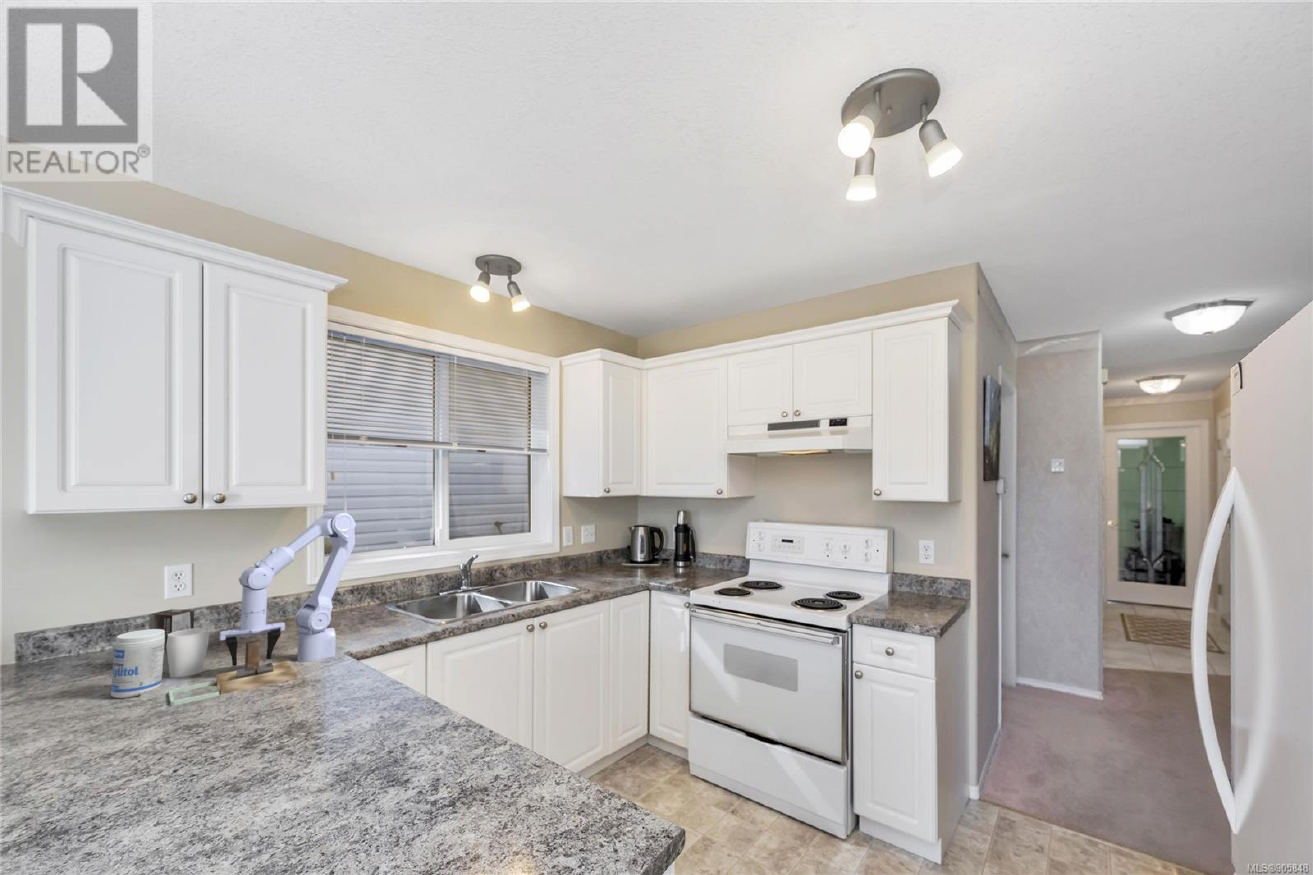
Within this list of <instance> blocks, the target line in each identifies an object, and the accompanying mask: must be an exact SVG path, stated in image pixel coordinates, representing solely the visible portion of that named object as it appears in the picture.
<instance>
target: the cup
mask: <svg viewBox="0 0 1313 875" xmlns="http://www.w3.org/2000/svg"><path fill="white" fill-rule="evenodd" d="M209 637H210V636H209V628H207V627H194V628H193V629H185V630H180V631H175V632H172V633H170V634H168V638H167V645H166V649H167V657H168V665H169V672H170V673H169V678H170V679H171V678H184V677H189V676H193V675H196V674H200V673H203V668H204V664H205V660H206V659H205V658H206V655H207V651H208V646H209V642H210V641H209V639H210V638H209Z"/></svg>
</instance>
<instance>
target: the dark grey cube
mask: <svg viewBox="0 0 1313 875" xmlns="http://www.w3.org/2000/svg"><path fill="white" fill-rule="evenodd" d="M236 671H237V672H236V679H239V678H244V677H249V676H254V675H255V669H254V667H248V668H245V667H243V668H239V669H236Z"/></svg>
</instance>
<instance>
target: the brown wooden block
mask: <svg viewBox="0 0 1313 875" xmlns="http://www.w3.org/2000/svg"><path fill="white" fill-rule="evenodd" d="M260 648H261V643H260V642H259V641H258V640H251V641H246V642H245V653H244V655H245V656H244V657H245V658H244V668H248V667H255V666H258V665H260Z"/></svg>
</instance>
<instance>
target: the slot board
mask: <svg viewBox="0 0 1313 875" xmlns="http://www.w3.org/2000/svg"><path fill="white" fill-rule="evenodd" d="M291 664H292V662H291V661H290V660H285V661H279V662H276V663H275V662H274V663H272V665H273V666H274V667H273V672H269V673H264V674H259V675H254V676H249V677H244V678H239V679H236V672H237V670H233V671H228V672H223V673H219V674H216V681H215V682H216V687H217V689H218V691H219V695H226V694H231V693H234V692H239V691H244V690H245V691H246V690H249V689H253V688H258V687H263V686H267V685H272V684H277V683H281V682H286V681H291V680H296V679H297V678H298V677H297V676H298V675H297V674H298V669H297V667H296V666H294V667H291ZM254 669H255V667H254Z"/></svg>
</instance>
